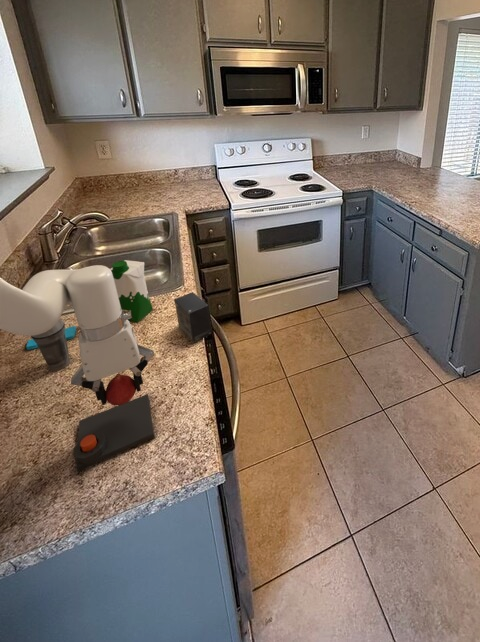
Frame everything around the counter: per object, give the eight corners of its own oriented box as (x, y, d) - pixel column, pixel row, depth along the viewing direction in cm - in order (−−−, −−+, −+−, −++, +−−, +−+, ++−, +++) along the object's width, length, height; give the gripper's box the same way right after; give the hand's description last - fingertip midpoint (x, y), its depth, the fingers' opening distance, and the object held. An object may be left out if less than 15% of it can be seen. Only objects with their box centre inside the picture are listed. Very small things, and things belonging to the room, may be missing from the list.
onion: (111, 419, 75) (102, 390, 72) (107, 400, 80) (99, 372, 77) (141, 405, 78) (134, 376, 76) (136, 388, 83) (129, 360, 80)
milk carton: (115, 320, 115) (101, 266, 109) (136, 304, 124) (123, 252, 117) (138, 324, 113) (125, 269, 106) (157, 308, 121) (146, 255, 115)
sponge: (29, 336, 107) (23, 346, 102) (76, 324, 112) (73, 333, 107) (31, 340, 108) (25, 351, 102) (77, 329, 113) (74, 338, 107)
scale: (75, 474, 70) (72, 463, 69) (79, 425, 80) (76, 415, 79) (154, 438, 77) (152, 428, 76) (149, 398, 87) (146, 388, 86)
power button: (81, 454, 71) (79, 449, 70) (82, 443, 73) (80, 438, 72) (96, 448, 72) (95, 442, 72) (97, 437, 74) (95, 432, 74)
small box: (213, 333, 108) (209, 304, 105) (193, 344, 104) (187, 314, 101) (197, 318, 116) (193, 290, 112) (178, 327, 111) (172, 299, 108)
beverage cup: (51, 378, 93) (28, 314, 86) (38, 368, 96) (15, 305, 90) (80, 361, 99) (61, 299, 92) (68, 351, 102) (48, 291, 96)
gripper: (147, 302, 79) (162, 367, 85) (53, 329, 71) (76, 398, 77) (151, 320, 73) (166, 388, 79) (48, 352, 65) (73, 425, 71)
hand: (121, 392), depth 78 cm, fingers closed on onion, 6 cm apart
